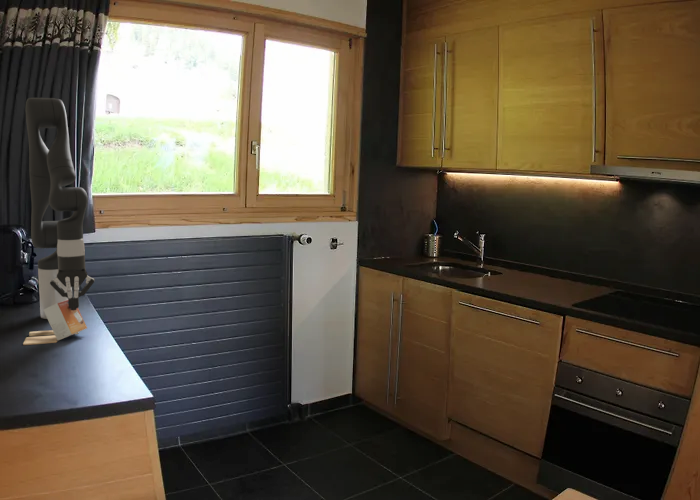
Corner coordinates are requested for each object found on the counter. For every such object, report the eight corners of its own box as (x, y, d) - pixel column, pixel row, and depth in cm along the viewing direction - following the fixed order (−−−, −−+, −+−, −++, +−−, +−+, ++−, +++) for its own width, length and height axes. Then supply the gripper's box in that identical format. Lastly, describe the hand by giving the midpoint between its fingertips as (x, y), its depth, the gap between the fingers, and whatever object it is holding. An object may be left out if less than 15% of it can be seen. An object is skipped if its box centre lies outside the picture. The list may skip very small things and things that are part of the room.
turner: (28, 337, 192) (28, 334, 191) (30, 333, 196) (30, 330, 196) (78, 334, 197) (78, 330, 197) (78, 329, 201) (78, 326, 201)
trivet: (26, 338, 191) (26, 337, 191) (58, 336, 194) (58, 334, 194) (23, 345, 184) (23, 343, 184) (56, 342, 187) (56, 341, 187)
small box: (71, 334, 187) (56, 303, 187) (57, 341, 189) (42, 309, 188) (88, 327, 195) (73, 297, 194) (74, 334, 196) (59, 303, 196)
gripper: (95, 251, 194) (97, 305, 197) (48, 252, 189) (51, 308, 192) (94, 254, 187) (97, 310, 190) (45, 256, 183) (49, 314, 185)
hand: (73, 309), depth 191 cm, fingers closed
